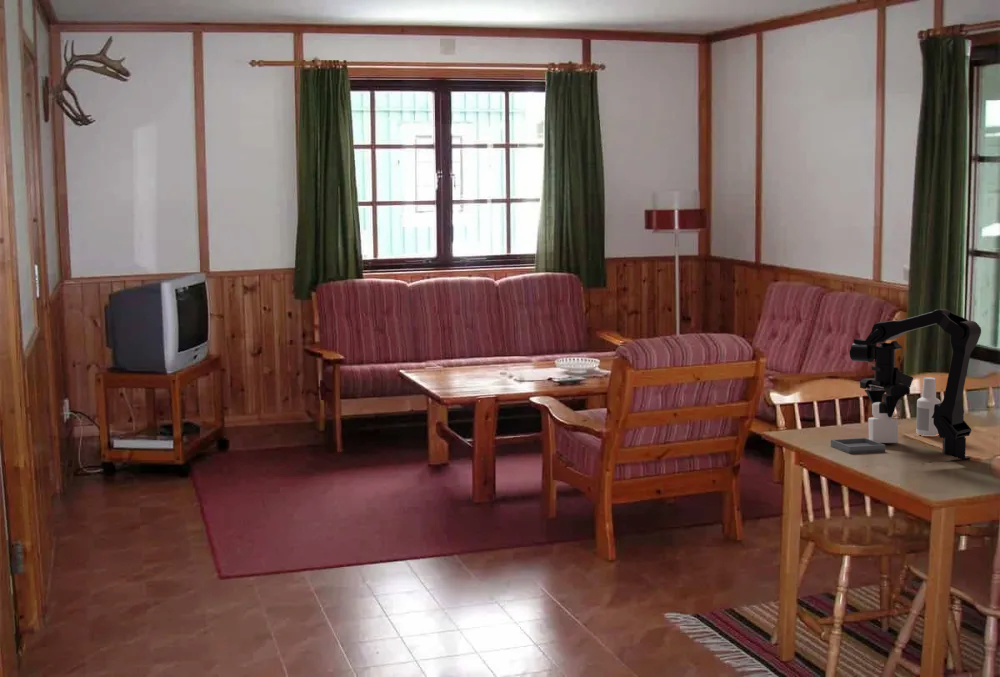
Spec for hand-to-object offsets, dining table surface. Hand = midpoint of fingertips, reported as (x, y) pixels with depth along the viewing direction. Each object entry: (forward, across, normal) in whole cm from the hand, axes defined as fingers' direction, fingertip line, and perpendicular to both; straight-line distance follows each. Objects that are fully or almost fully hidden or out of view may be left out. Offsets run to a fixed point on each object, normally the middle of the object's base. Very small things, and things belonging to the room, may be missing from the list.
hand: (884, 415), depth 356 cm
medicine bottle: (+8, -1, +1) cm, 8 cm away
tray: (+8, -6, +12) cm, 16 cm away
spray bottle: (+8, +7, -19) cm, 22 cm away
